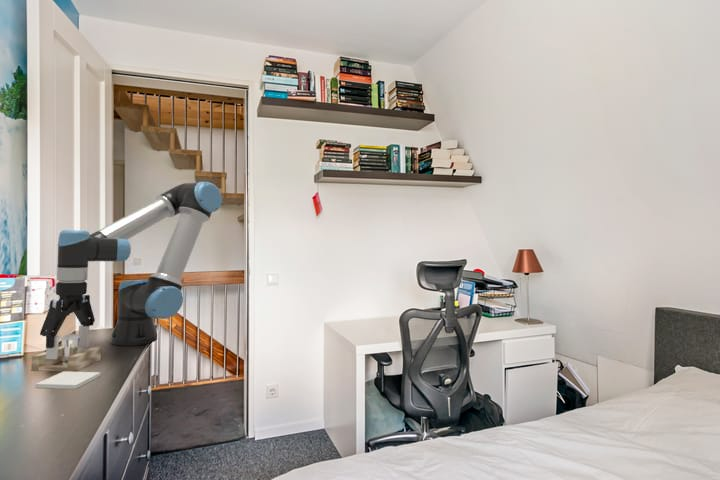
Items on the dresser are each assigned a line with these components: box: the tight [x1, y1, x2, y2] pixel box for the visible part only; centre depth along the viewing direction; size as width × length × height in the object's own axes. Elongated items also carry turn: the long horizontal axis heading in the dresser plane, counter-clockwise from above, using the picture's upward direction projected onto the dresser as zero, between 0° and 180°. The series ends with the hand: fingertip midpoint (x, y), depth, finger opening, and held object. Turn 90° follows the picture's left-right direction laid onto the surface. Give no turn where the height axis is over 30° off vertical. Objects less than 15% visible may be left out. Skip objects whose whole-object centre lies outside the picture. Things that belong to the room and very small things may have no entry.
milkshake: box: [57, 331, 80, 366], centre depth 119 cm, size 4×5×10 cm
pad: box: [34, 371, 102, 390], centre depth 105 cm, size 10×10×1 cm
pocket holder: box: [30, 345, 102, 372], centre depth 118 cm, size 12×12×4 cm
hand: (68, 352), depth 118 cm, fingers open, 13 cm apart
